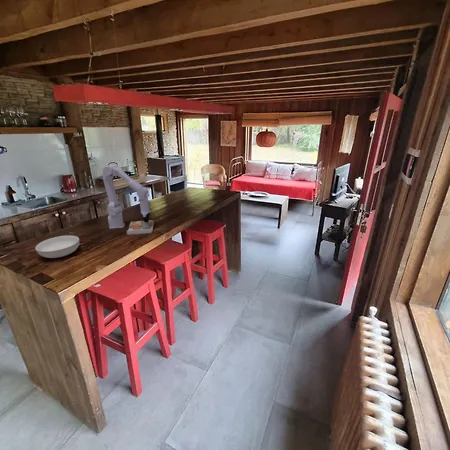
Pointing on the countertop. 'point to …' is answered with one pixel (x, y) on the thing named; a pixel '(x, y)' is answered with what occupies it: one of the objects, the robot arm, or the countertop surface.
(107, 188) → the robot arm
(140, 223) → the birch board
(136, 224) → the terracotta block
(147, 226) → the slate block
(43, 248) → the serving bowl
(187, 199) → the countertop surface
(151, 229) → the grey tray
